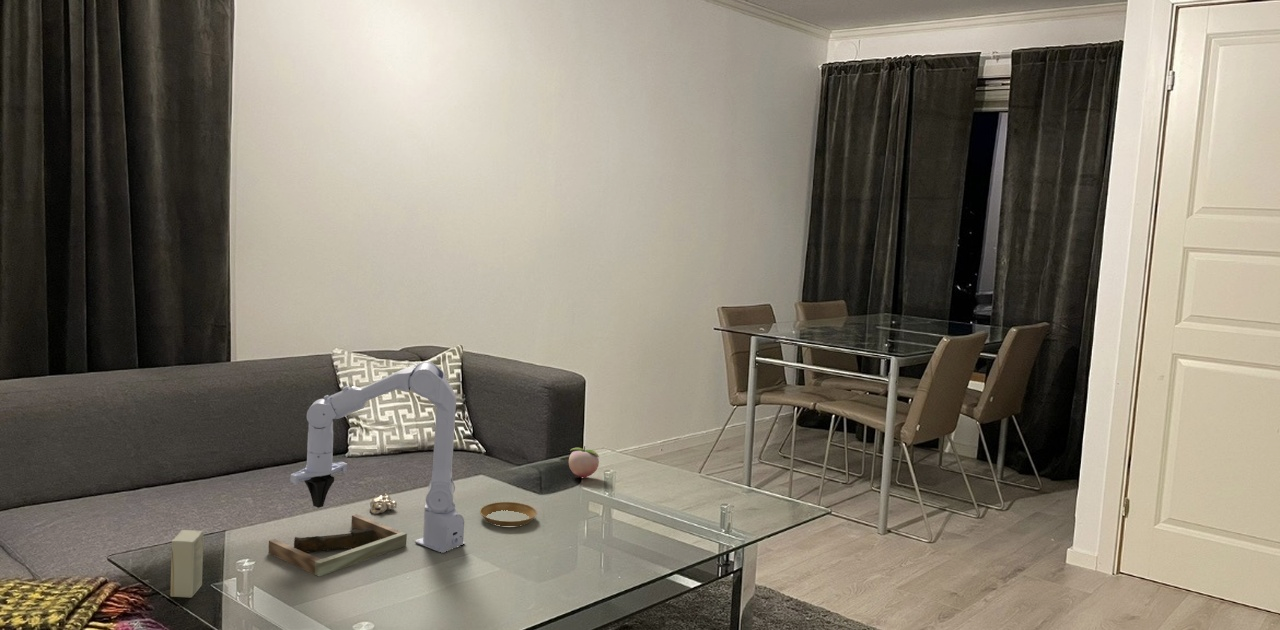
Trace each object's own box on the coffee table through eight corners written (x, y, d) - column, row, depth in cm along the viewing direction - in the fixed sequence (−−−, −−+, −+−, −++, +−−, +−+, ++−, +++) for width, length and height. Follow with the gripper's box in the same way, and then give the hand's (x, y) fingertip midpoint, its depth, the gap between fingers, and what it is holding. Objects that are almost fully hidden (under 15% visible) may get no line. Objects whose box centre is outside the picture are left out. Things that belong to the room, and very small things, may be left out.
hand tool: (294, 557, 225) (295, 538, 224) (293, 550, 228) (293, 531, 228) (379, 551, 232) (380, 532, 231) (377, 544, 236) (377, 526, 235)
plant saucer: (468, 523, 254) (468, 513, 254) (497, 507, 268) (498, 497, 267) (518, 535, 249) (519, 525, 248) (546, 518, 262) (546, 508, 262)
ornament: (392, 516, 254) (392, 503, 254) (365, 514, 254) (366, 500, 254) (400, 506, 262) (400, 493, 262) (374, 504, 262) (375, 490, 262)
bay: (406, 545, 236) (406, 533, 235) (319, 576, 215) (319, 563, 215) (356, 525, 246) (356, 514, 245) (268, 553, 225) (268, 540, 225)
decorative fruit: (563, 480, 294) (565, 448, 292) (570, 472, 302) (572, 440, 300) (594, 484, 292) (596, 452, 291) (600, 476, 300) (602, 444, 299)
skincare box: (181, 584, 206) (182, 528, 204) (203, 585, 206) (204, 529, 205) (169, 597, 200) (170, 540, 198) (192, 598, 200) (193, 541, 198)
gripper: (334, 441, 240) (332, 494, 242) (282, 452, 228) (281, 508, 230) (353, 447, 236) (351, 502, 238) (302, 459, 224) (300, 516, 226)
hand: (318, 506), depth 234 cm, fingers closed
